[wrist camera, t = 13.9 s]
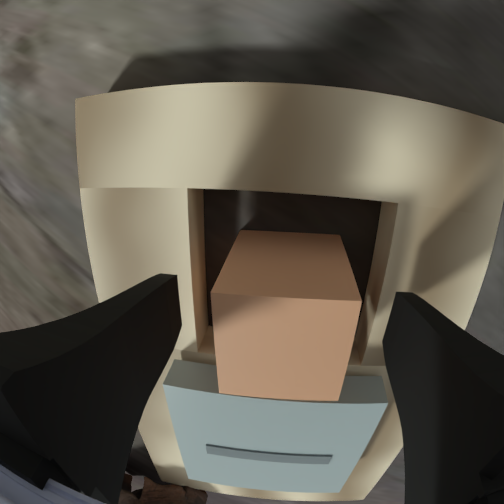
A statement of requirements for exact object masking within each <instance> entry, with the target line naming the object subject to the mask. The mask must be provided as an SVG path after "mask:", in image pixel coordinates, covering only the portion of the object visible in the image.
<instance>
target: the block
mask: <svg viewBox="0 0 504 504" xmlns="http://www.w3.org/2000/svg"><path fill="white" fill-rule="evenodd" d="M361 303H362V300H361V297H360V293H359V290H358V287H357V284H356V281H355V278H354V275H353V272H352V269H351V266H350V263H349V260H348V257H347V254H346V251H345V248H344V245H343V242H342V240H341V237H340V235H332V234H314V233H295V232H275V231H253V230H240V231H239V233H238V236H237V238H236V240H235V242H234V244H233V246H232V248H231V250H230V252H229V254H228V257H227V259H226V261H225V263H224V265H223V267H222V269H221V271H220V274H219V276H218V278H217V280H216V282H215V284H214V286H213V289H212V291H211V305H212V318H213V331H214V343H215V355H216V366H217V377H218V387H219V393H223V394H231V395H240V396H250V397H262V398H275V399H291V400H316V401H338V400H339V396H340V392H341V389H342V385H343V381H344V378H345V374H346V370H347V366H348V362H349V358H350V354H351V349H352V345H353V341H354V336H355V332H356V327H357V323H358V318H359V313H360V308H361Z"/></svg>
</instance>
